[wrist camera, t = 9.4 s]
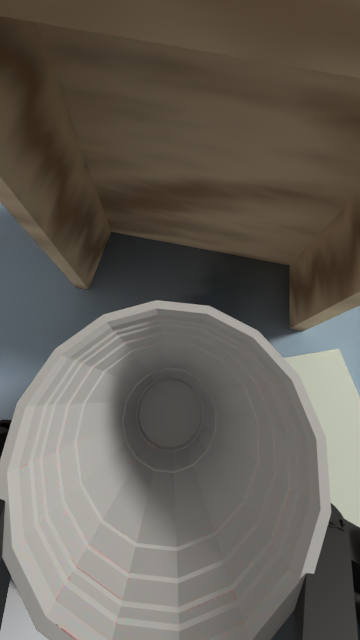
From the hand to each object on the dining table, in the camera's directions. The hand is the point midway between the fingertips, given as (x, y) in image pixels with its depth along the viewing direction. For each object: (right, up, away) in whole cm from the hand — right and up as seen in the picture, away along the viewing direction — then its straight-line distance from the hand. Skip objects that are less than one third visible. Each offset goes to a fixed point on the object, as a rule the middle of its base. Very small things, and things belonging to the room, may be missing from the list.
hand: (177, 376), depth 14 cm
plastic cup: (-1, -4, +3) cm, 5 cm away
